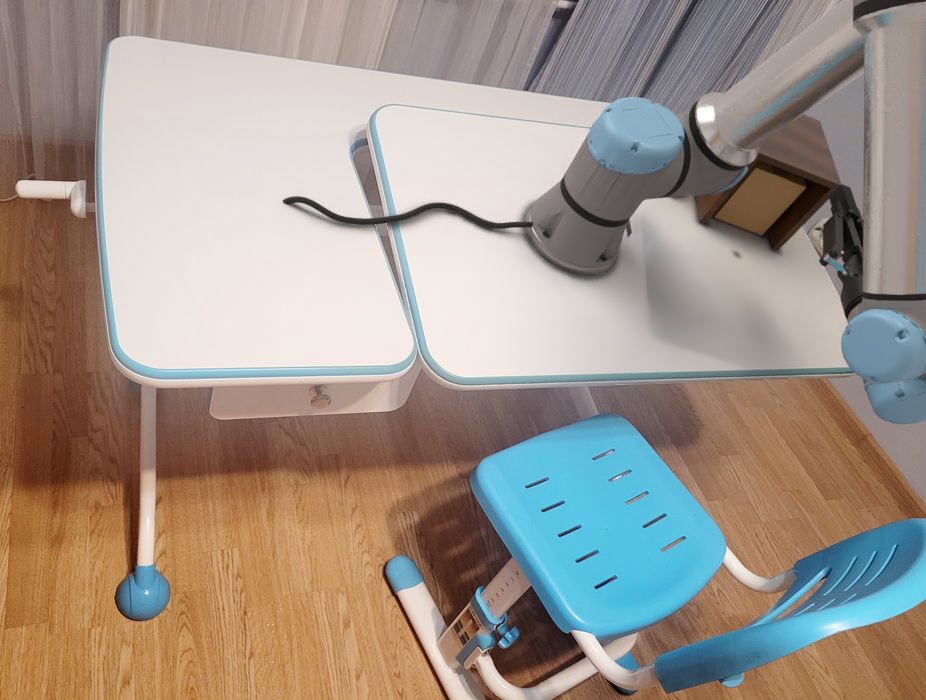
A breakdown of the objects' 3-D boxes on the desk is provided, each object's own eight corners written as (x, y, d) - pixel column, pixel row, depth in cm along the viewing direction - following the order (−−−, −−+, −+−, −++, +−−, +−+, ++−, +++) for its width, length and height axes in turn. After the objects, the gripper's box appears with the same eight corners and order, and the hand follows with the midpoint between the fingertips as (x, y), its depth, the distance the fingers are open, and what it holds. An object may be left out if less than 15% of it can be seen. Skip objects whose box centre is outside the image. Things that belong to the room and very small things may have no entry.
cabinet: (778, 250, 137) (842, 185, 125) (699, 222, 134) (757, 151, 122) (762, 186, 149) (820, 120, 137) (689, 158, 145) (741, 88, 133)
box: (761, 235, 138) (807, 187, 129) (714, 217, 136) (756, 167, 127) (751, 186, 147) (793, 138, 138) (706, 169, 145) (746, 118, 136)
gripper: (815, 314, 99) (785, 195, 113) (896, 343, 102) (857, 223, 116) (857, 278, 93) (820, 158, 108) (942, 309, 96) (895, 188, 111)
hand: (839, 192), depth 112 cm, fingers closed
